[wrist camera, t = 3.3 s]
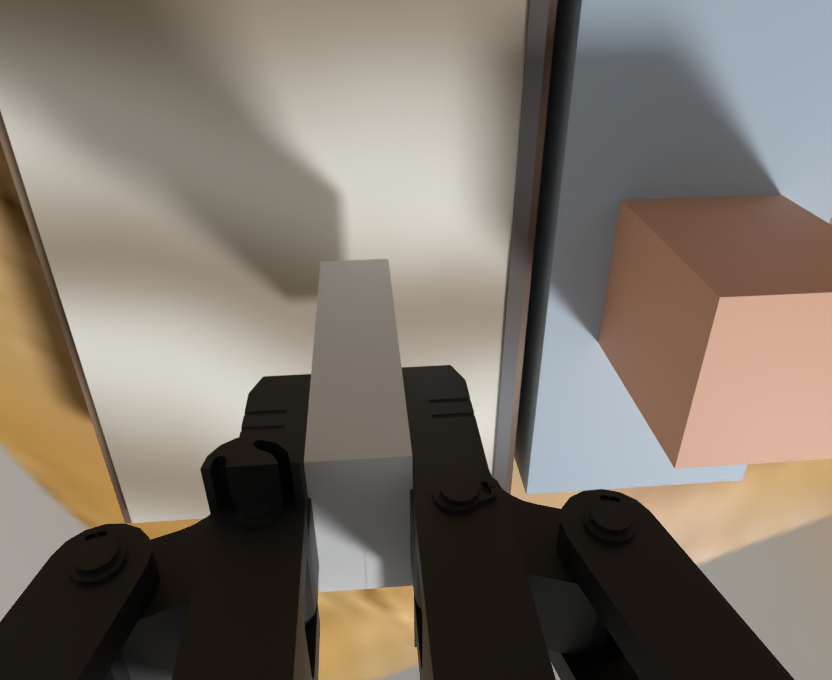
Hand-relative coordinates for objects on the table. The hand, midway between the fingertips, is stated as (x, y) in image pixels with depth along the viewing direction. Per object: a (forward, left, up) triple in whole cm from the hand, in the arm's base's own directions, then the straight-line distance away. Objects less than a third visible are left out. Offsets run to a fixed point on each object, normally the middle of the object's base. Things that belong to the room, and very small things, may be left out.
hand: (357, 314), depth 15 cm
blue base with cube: (0, +8, -5) cm, 10 cm away
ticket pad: (0, -1, -5) cm, 5 cm away
